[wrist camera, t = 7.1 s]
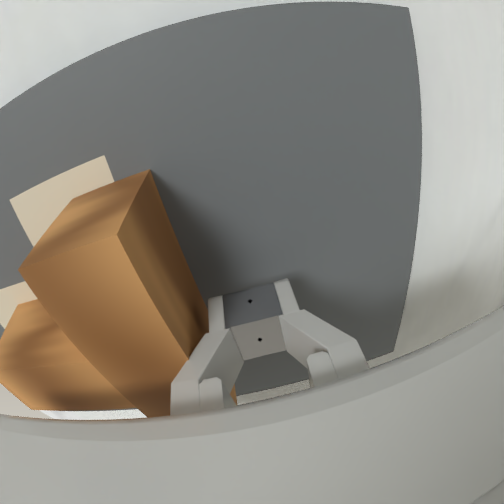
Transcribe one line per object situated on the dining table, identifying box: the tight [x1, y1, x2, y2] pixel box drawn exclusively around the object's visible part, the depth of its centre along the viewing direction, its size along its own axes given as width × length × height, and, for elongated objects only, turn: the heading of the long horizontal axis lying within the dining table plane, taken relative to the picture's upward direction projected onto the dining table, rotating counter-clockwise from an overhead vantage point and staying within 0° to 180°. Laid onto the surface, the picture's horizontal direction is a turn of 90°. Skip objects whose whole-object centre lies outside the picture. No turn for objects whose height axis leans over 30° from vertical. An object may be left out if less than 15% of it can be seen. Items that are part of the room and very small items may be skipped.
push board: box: [0, 2, 422, 411], centre depth 12 cm, size 24×18×1 cm
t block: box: [0, 169, 237, 418], centre depth 10 cm, size 9×10×4 cm
